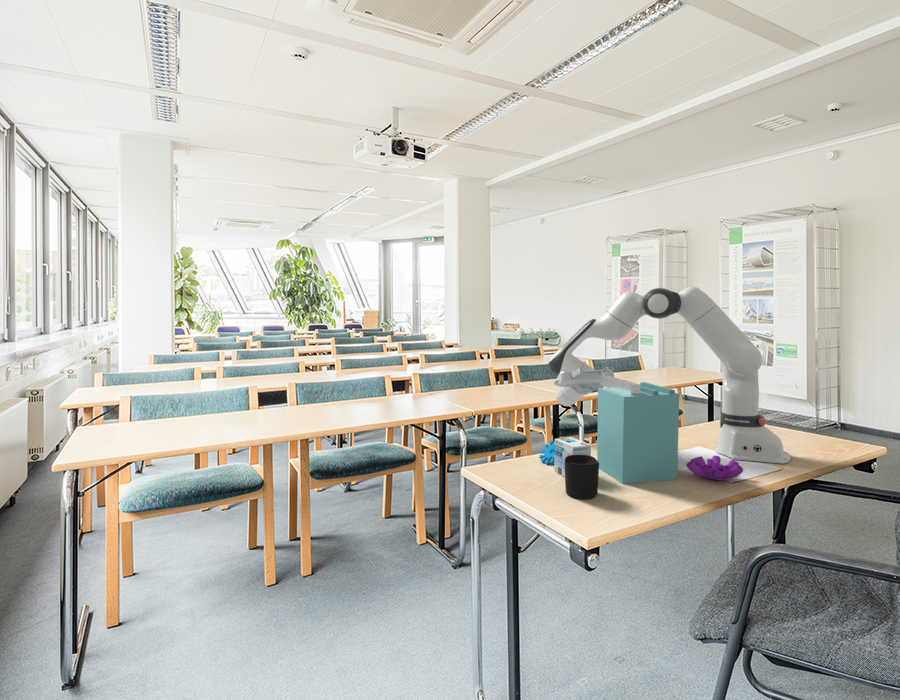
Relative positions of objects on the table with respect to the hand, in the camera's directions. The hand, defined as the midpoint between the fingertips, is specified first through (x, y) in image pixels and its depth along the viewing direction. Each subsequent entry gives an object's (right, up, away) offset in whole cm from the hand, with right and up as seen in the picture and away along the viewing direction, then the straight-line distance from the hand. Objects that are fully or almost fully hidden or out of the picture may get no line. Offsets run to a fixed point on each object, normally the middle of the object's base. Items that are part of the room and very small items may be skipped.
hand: (594, 369), depth 182 cm
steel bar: (+3, -6, -16) cm, 17 cm away
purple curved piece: (+31, -32, -23) cm, 50 cm away
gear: (-15, -31, -4) cm, 35 cm away
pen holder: (-13, -34, -33) cm, 49 cm away
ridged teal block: (+9, -32, -16) cm, 37 cm away
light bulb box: (-12, -32, -17) cm, 39 cm away
